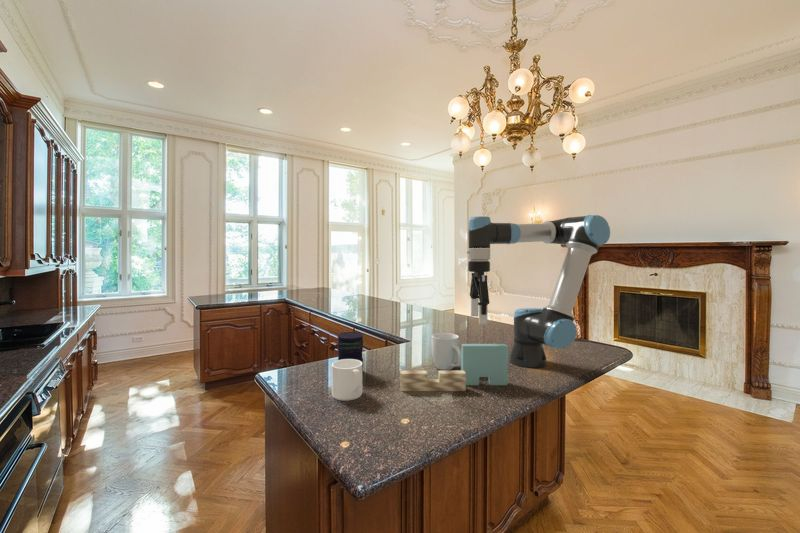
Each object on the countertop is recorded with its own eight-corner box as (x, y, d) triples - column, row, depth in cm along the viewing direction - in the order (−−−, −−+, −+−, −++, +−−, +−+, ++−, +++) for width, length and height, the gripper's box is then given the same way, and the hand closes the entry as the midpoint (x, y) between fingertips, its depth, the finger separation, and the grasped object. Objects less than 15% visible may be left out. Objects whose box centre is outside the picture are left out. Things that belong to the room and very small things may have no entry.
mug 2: (471, 372, 138) (471, 339, 137) (449, 377, 132) (450, 343, 131) (446, 361, 150) (446, 331, 150) (425, 366, 144) (425, 334, 144)
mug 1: (326, 392, 117) (326, 362, 117) (353, 386, 123) (353, 357, 123) (343, 406, 107) (343, 373, 107) (372, 398, 113) (372, 367, 112)
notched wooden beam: (463, 387, 122) (464, 370, 122) (465, 390, 119) (465, 373, 119) (400, 387, 122) (400, 370, 122) (400, 391, 119) (400, 373, 119)
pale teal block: (504, 381, 128) (505, 343, 127) (507, 385, 125) (508, 346, 124) (460, 382, 127) (461, 343, 127) (462, 385, 124) (463, 346, 124)
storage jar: (368, 373, 136) (368, 334, 136) (348, 379, 129) (348, 339, 128) (352, 367, 143) (352, 330, 142) (332, 373, 136) (332, 334, 135)
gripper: (462, 259, 137) (462, 313, 139) (476, 261, 113) (475, 327, 114) (481, 259, 137) (481, 313, 139) (499, 261, 113) (498, 327, 114)
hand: (478, 319), depth 126 cm, fingers open, 13 cm apart
